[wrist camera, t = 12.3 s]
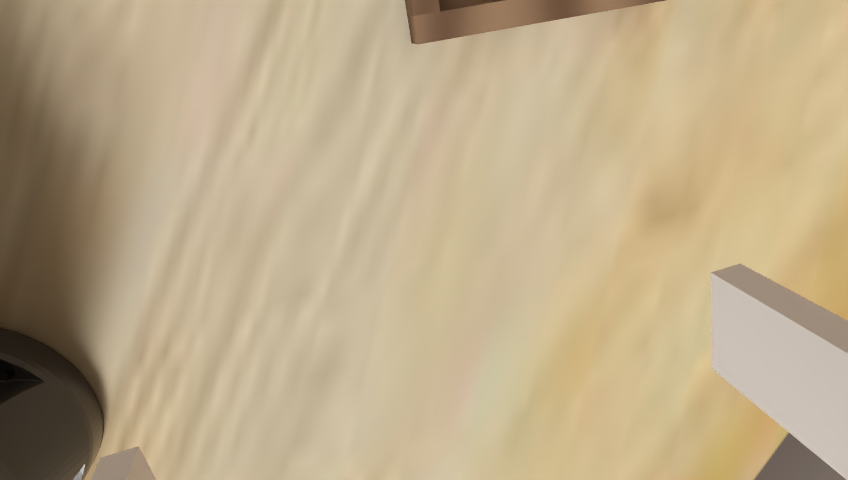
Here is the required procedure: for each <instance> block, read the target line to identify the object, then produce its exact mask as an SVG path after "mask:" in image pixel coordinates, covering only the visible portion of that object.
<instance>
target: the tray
mask: <svg viewBox="0 0 848 480" xmlns="http://www.w3.org/2000/svg"><path fill="white" fill-rule="evenodd" d="M659 1H665V0H405V3H406V10H407V16H408V22H409V29H410V35H411V41H412V43H414V44H423V43H428V42H434V41H439V40H445V39H451V38H456V37H462V36H468V35H473V34H479V33H484V32H490V31H496V30H501V29H507V28H513V27H518V26H524V25H530V24H535V23H541V22H546V21H552V20H558V19H563V18H569V17H575V16H580V15H586V14H591V13H597V12H603V11H608V10H614V9H620V8H625V7H631V6H636V5H642V4H648V3H653V2H659Z"/></svg>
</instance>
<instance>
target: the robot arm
mask: <svg viewBox="0 0 848 480" xmlns="http://www.w3.org/2000/svg"><path fill="white" fill-rule="evenodd" d="M711 321H712V369H713V370H714V371H715V372H716V373H718V374H719V375H720V376H721V377H722V378H724V379H725V380H726V381H727V382H729V383H730V384H731V385H732V386H733V387H735V388H736V389H737V390H738V391H739V392H741V393H742V394H743V395H744V396H746V397H747V398H748V399H749V400H750V401H752V402H753V403H754V404H755V405H756V406H758V407H759V408H760V409H761V410H763V411H764V412H765V413H766V414H767V415H769V416H770V417H771V418H772V419H774V420H775V421H776V422H777V423H778V424H780V425H781V426H782V427H783V428H784V429H786V430H787V431H788V432H789V433H791V434H792V435H793V436H794V437H795V438H797V439H798V440H799V441H800V442H802V443H803V444H804V445H805V446H806V447H808V448H809V449H810V450H811V451H813V452H814V453H815V454H816V455H817V456H819V457H820V458H821V459H822V460H823V461H825V462H826V463H827V464H828V465H829V466H831V467H832V468H833V469H834V470H836V471H837V472H838V473H839V474H840V475H842V476H843V477H844V478H845V479H846V480H848V321H847V320H845V319H843V318H842V317H840V316H838V315H836V314H834V313H832V312H830V311H828V310H827V309H825V308H823V307H821V306H819V305H817V304H815V303H813V302H811V301H810V300H808V299H806V298H804V297H802V296H800V295H798V294H796V293H795V292H793V291H791V290H789V289H787V288H785V287H783V286H781V285H779V284H778V283H776V282H774V281H772V280H770V279H768V278H766V277H764V276H763V275H761V274H759V273H757V272H755V271H753V270H751V269H749V268H747V267H746V266H744V265H742V264H738V265H734V266H731V267H728V268H724V269H721V270H718V271H715V272H711ZM102 434H103V421H102V414H101V410H100V406H99V403H98V401H97V398H96V396H95V394H94V392H93V390H92V389H91V387H90V386H89V384H88V383H87V381H86V380H85V378H84V377H83V376H82V375H81V374H80V373H79V371H78V370H77V369H76V368H75V367H74V366H73V365H72V364H70V363H69V362H68V361H67V360H66V359H64V358H63V357H62V356H61V355H59V354H58V353H56V352H55V351H53V350H52V349H50V348H48V347H47V346H45V345H43V344H41V343H39V342H37V341H35V340H33V339H31V338H28V337H26V336H24V335H21V334H18V333H15V332H12V331H8V330H5V329H1V328H0V480H84V479H85V477H86V475H87V473H88V471H89V469H90V467H91V465H92V464H93V462H94V460H95V458H96V456H97V454H98V451H99V448H100V445H101V441H102ZM91 480H156V478H155V477H154V475H153V473H152V471H151V469H150V467H149V465H148V463H147V461H146V459H145V457H144V456H143V454H142V452H141V450H140V448H139V446H138V447H135V448H132V449H128V450H125V451H122V452H118V453H115V454H112V455H109V456H105V457H102V458H100V461H99V463H98V465H97V467H96V469H95V471H94V474H93V476H92V478H91Z"/></svg>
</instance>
